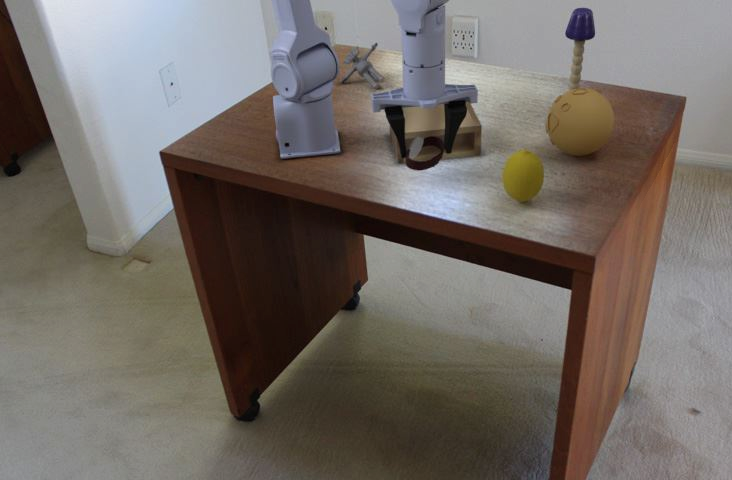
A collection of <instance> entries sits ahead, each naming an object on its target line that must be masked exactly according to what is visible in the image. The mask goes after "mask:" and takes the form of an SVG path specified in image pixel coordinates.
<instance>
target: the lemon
mask: <svg viewBox="0 0 732 480" xmlns="http://www.w3.org/2000/svg"><path fill="white" fill-rule="evenodd" d="M544 179H545V170H544V165H543V162H542V160H541V158H540V157H539V156H538V155H537V154H536V153H535V152H533V151H531V150H528V149H522V150H518V151H516V152H513V153H512V154H511V155H510V156H509V157H508V159H507V160H506V161H505V164H504V167H503V171H502V185H503V189H504V192H505V193H506V194H507V196H508V197H510V198H512V199H513V200H514V201H518V203H520V204H523V203H524V202H528V201H530V200H532V199H534V198H535V197H537V196H538V195H539V193H540V191H541V190H542V188H543V184H544Z"/></svg>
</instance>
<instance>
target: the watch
mask: <svg viewBox="0 0 732 480" xmlns="http://www.w3.org/2000/svg"><path fill="white" fill-rule="evenodd" d="M425 146H435V147H437V148H439V149H440V151H441V153H439V154H438V155H437V156H435V157H433V158H432V159H431V160H427V161H414V160H412V158H414V157H416V156H417V154H418V153H419V152H420V150H421V148H423V147H425ZM444 148H445V146H444V142H443V141H442V140H441V139H440V138H438V137H435V136H430V137H426V138H423V139H422V138H419V137H417V138H415V139H414V141H413V142H412V143H411V145H410V147H409V150H408V151H407V153H406V160H405V163H404V164H405V166H406V167H407V168H408V169H410V170H413V171H417V172H418V171H425V170H429V169H432V168H435V166H437V165H439V163H440V161H441V160H442V159H441V158H442V156H443V152H444ZM410 158H411V159H410Z"/></svg>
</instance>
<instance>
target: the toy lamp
mask: <svg viewBox="0 0 732 480" xmlns="http://www.w3.org/2000/svg"><path fill="white" fill-rule="evenodd" d="M564 36H565V37H566V38H567V39H569V40H572V41H573V44H574V47H573V49H572V52H573V55H572V58H571V62H572V65H571V67H570V75H569V81H570V82H569V83H568V91H570V90H573V89H578V88H581V87H580V86H581V85H580V81H581V79H582V75H581V73H582V70H583V65H582V64H583V62H584V56H583V55H584V53H585V44H586V41H590V40H593V38H595V36H596V25H595V19H594V13H593V10H592V9H591V8H589V7H577V8H575V9H573V11H572V13H571V15H570V17H569V21H568V24H567V26H566V29H565V35H564Z"/></svg>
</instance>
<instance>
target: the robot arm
mask: <svg viewBox="0 0 732 480" xmlns="http://www.w3.org/2000/svg"><path fill="white" fill-rule="evenodd" d="M390 1H391V3H392V6H393V8H394V9H395V11H396V13H397V16H398V25H399V26H400V30H401V31H400V32H401V59H402V60H401V62H402V65H401V66H402V87H399V88H395V89H391V90H387V91H386V90H385V91H382V92H376V93H375V92H374V93H371V94H370V99H371V109H372V110H371V111H372V113H381V111H382V110H384V114H385V117H386V121H387V122H388V124H389V127H390V126H391V128H392V129H393V131H394V133H395V136H396V138H397V141H398V143H399V149H400V154H401V158H406V144H405V118H404V113H403V109H402V108H407V107H418V106H420V107H421V108H434V107H436V105H439V104H444V112H445V133H444V146H445V151H446V153H447V154H451V153H452V147H453V143H454V140H455V137H456V134H457V132H458V129H459V127H460V125H461V123H462V122H463V120H464V118H465V117H466V114H467V107H466V102H469V103H471V105H472V104H478V99H479V96H478V94H479V91H478V88H477V86H476V84H450V83H446V4H447V3H448V2H450V0H390ZM271 4H272V8H273V12H274V16H275V21H276V24H277V25H276V26H277V28H278V34H277V36H276V38H275V40H274V42H273V43H272V45H271V47H270V49H269V57H270V61H271V65H270V66H271V67H270V77H271V82H272V85H273V86H274V88H275V90H276V92H277V93H278V94H276V95H272V96H273V97H272V102H273V113H274V120H275V126H276V130H275V138H276V141H277V142H278V147H279V155H280V159H282V160H283V159H284V160H285V159H293V158H304V157H314V156H323V155H324V156H326V155H335V154H340V153H341V148H340V146H341V145H340V139H339V138H340V137H339V132H338V129H336V123H335V111H334V102H333V91H332V90H333V88H335V83H334V82H335V81H334V80H336V79H337V78H338V76H339V74H340V68H341V66H340V65H341V64H340V59H339V56H338V55H337V52H336V50H335V49H334V47H333V45H332V42H331V38H330V34H329V33H328V32H327V31H326V30H324V29H322V28H320V26H317V25H316V21H315V16H314V12H313V7H312V2H311V0H271Z"/></svg>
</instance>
